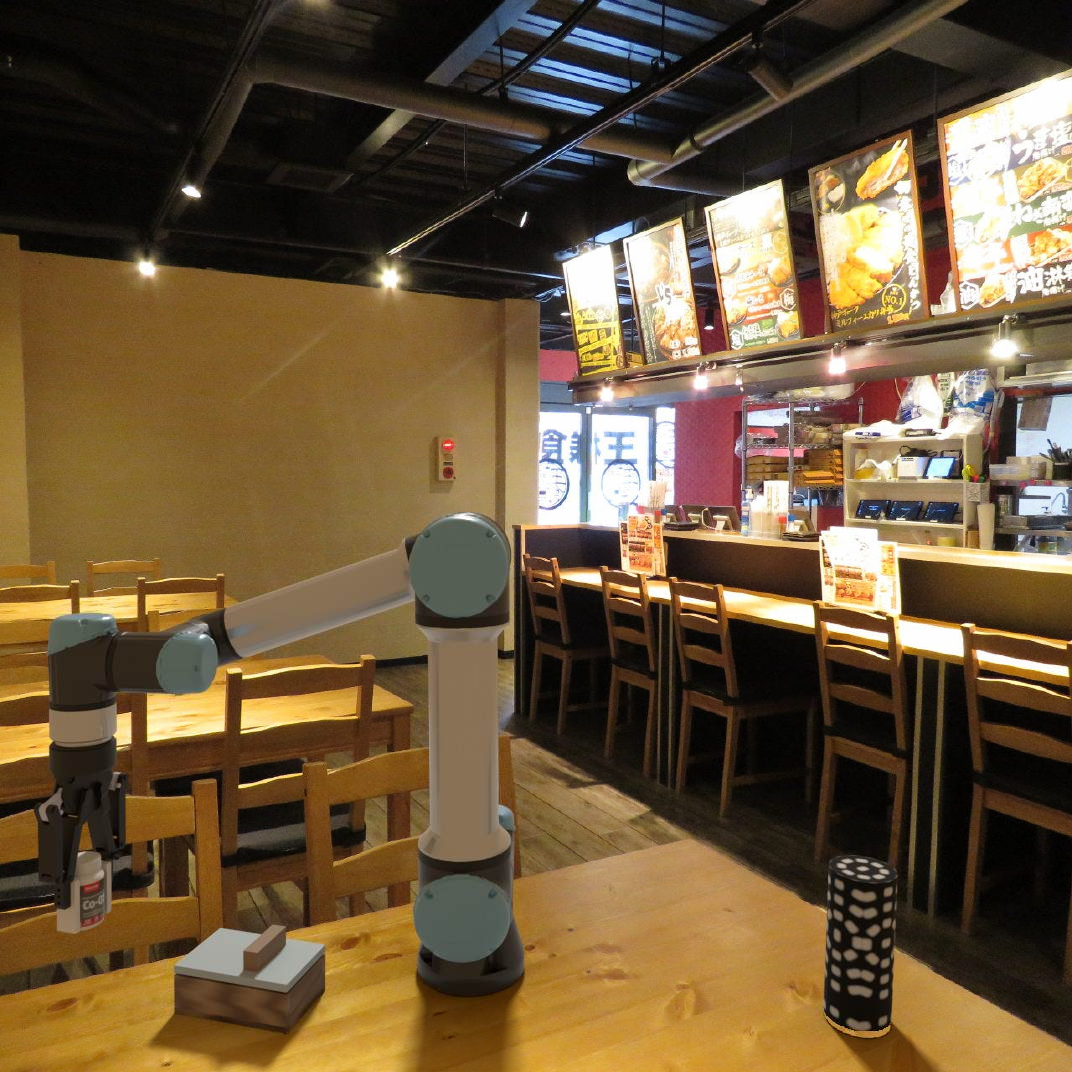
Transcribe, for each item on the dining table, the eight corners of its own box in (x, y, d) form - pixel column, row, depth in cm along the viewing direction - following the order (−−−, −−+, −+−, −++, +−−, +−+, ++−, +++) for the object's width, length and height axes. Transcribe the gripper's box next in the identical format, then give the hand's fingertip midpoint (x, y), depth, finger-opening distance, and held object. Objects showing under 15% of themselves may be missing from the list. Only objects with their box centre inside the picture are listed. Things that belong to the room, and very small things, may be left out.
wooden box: (325, 990, 120) (325, 953, 119) (286, 1034, 110) (286, 994, 110) (220, 971, 124) (220, 937, 123) (174, 1012, 114) (174, 975, 114)
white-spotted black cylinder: (858, 1046, 110) (865, 888, 109) (809, 1010, 117) (814, 862, 116) (905, 1028, 114) (912, 875, 112) (855, 994, 121) (860, 850, 120)
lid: (325, 951, 119) (325, 926, 119) (286, 992, 110) (286, 965, 110) (220, 934, 123) (220, 910, 123) (174, 972, 114) (174, 946, 114)
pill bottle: (87, 934, 109) (86, 867, 109) (53, 929, 110) (53, 863, 110) (112, 916, 114) (112, 852, 113) (80, 911, 115) (80, 848, 114)
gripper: (108, 717, 120) (110, 886, 122) (-1, 756, 103) (2, 951, 104) (156, 722, 118) (157, 893, 120) (53, 762, 101) (55, 961, 102)
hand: (85, 920), depth 112 cm, fingers closed on pill bottle, 5 cm apart
